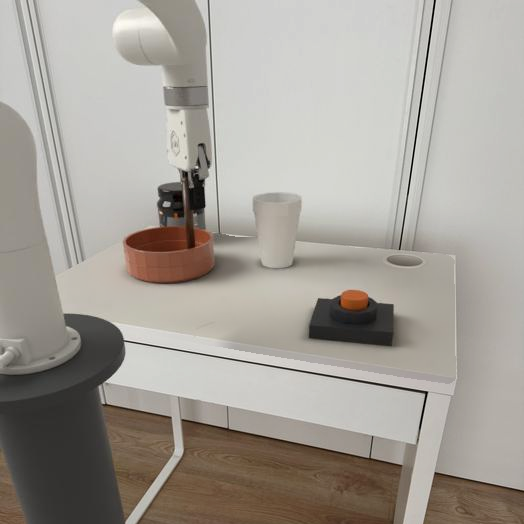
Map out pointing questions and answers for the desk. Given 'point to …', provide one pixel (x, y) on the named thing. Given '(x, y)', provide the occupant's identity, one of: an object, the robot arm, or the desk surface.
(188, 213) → the flanged wooden peg
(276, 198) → the foam cup
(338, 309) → the black flat block
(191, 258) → the bowl
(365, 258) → the desk surface
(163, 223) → the supplement container
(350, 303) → the timer button
